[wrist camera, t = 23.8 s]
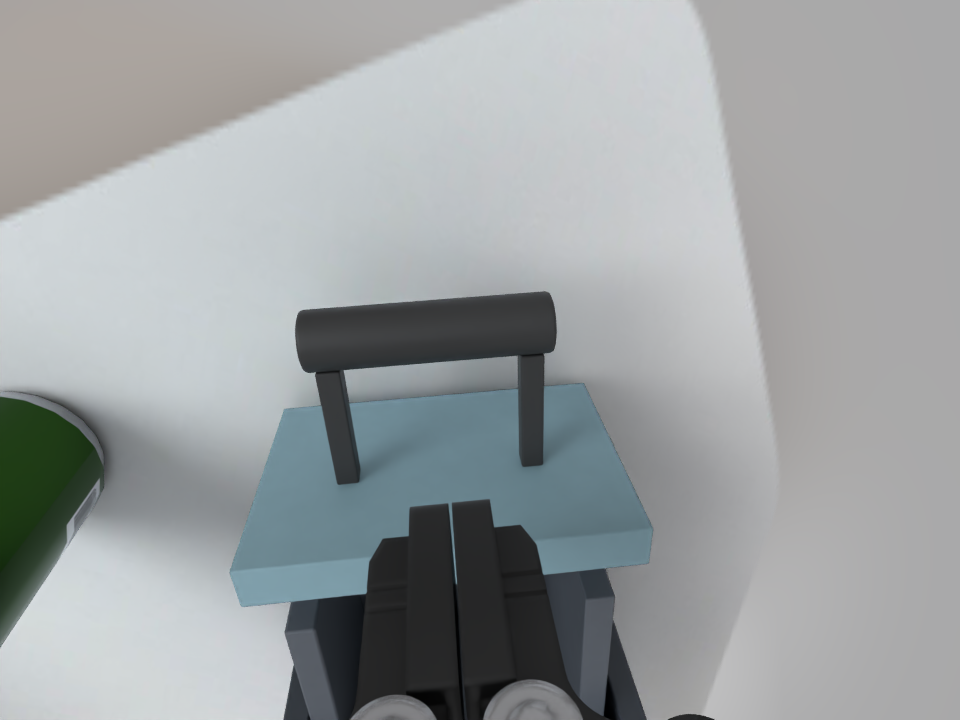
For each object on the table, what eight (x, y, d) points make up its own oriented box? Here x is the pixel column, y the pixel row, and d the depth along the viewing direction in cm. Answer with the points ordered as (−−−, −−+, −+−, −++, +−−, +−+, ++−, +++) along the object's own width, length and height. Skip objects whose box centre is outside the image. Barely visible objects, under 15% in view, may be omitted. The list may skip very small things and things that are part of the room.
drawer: (249, 263, 17) (164, 386, 11) (590, 238, 18) (678, 343, 12) (334, 623, 25) (310, 810, 19) (573, 597, 25) (622, 770, 20)
